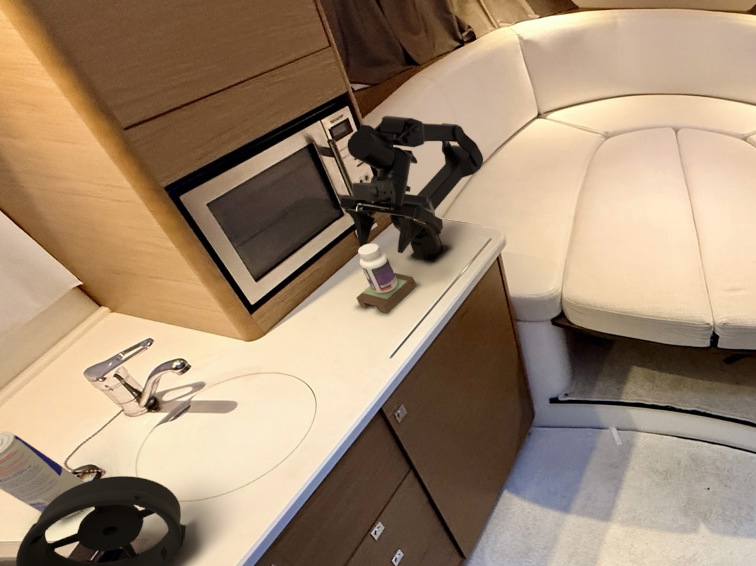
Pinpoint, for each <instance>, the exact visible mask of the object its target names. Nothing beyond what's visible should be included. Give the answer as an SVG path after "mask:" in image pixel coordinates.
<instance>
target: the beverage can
mask: <svg viewBox="0 0 756 566" xmlns="http://www.w3.org/2000/svg"><path fill="white" fill-rule="evenodd" d="M85 482H86V481H84V480H83V479H81V478H79V477H78V476H77V475H75V474H74V473H73V472H71V471H70V470H68V469H66V468H65V467H63V466H62V465H60V464H59V463H57V462H56V461H54V459H52V458H50V457H49V456H47V455H46V454H44V453H43V452H41V451H40V450H38V449H37V448H36V447H34V446H33V445H31V444H30V443H28V442H26V441H25V440H23V439H22V438H21V437H19V436H18V435H16V434H14V433H12V432H11V431H0V490H2V491H3V492H5V493H6V494H9V495H10V496H12V497H13V498H15V499H17V500H18V501H20V502H22V503H24V504H26V505H27V506H29V507H31V508H33V509H34V510H36V511H38V512H39V513H41V514H42V512H43V511H44V509H45V508H46V507H47V506H48V505H49V504H50V503H51V502H52V501H53V500H54V499H55V498H56V497H58V496H59V495H61V494H62V493H64V492H65V491H67V490H69V489H71V488H73V487H75V486H77V485H80V484H82V483H85ZM81 511H82V510H80V511H77V512H74V513H72V514H70V515H68V516H66V517H64V518H63V519H67V518H69V517H71V516H73V515H76V514H77V513H79V512H81Z"/></svg>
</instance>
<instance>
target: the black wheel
mask: <svg viewBox="0 0 756 566" xmlns="http://www.w3.org/2000/svg"><path fill="white" fill-rule="evenodd" d="M84 482H85V483H82V484H80V485H77V486H75V487H73V488H71V489H69V490H67V491H65V492H64V493H62V494H61V495H59V496H58V497H56V498H55V499H54V500H53V501H52V502H51V503H50V504H49V505H48V506H47V507H46V508H45V509H44V511H43V512H42V513H41V514H40V516H39V517H38V519H37V521H36V522H35V523H33V524H32V525H31V527H30V528H29V529H28V531H27V532H26V534H25V536H24V537H23V539H22V540H21V543H20V545H19V547H18V550H17V554H16V556H15V557H16V559H15V565H16V566H170V565H171V564H172V563H173V561H174V560H175V559H176V557H177V556H178V554H179V552H180V550H181V548H182V546H183V544H184V541H185V538H186V533H187V531H186V530H187V525H186V524H182V523H181V518H182V508H181V504H180V501H179V499H178V497H177V496H176V495H175V494H174V492H172V490H170V489H169V488H168V487H166V485H165V486H164V485H163V484H161V483H160V482H157V481H156V480H155V481H154V480H151V479H148V478H145V477H138V476H129V475H128V476H127V475H118V476H107V477H101V478H96V479H92V480H89V481H84ZM138 507H139V508H141V509H139V508H138ZM91 508H94V509H92V510H91V511H89V512H88V513H87V514H86V515H85V516H84V517H83V518H82V519H81V521H80V523H79V525H78V528H77V532H76V533H73V534H71V535H68V536H66V537H63V538H59V539H58V540H55V541H53V542H48V540H47V537H46V536H47V535H46V532H47V531H48V530H49V529H50V528H52V526H54V524H56V523H57V522H59V521H61V520H62V519H65V518H64V517H66V516H68V515H70V514H72V513H74V512H77V511H79V512H81V511H83V510H86V509H91ZM142 508H143V509H142ZM80 510H81V511H80ZM77 513H78V512H77ZM154 514H156V515H157V516H158V517H160V518H161V519H162V520H163V521H164V523H165V525H166V526H167V532H166V533H165V534H164V536H163V537H162V538H161V539H160V540H159V541H158V542H157V543H155V544H154V545H153V546H151V547H150V548H148V549H146V550H144V551H142V552H138V553H137V552H136V550H135V548H134V546H133V545H132V543H133V542H134V541H135V540H136V539H137V538H138V537H139V536H140V534H141V532H142V529H143V526H144V523H145V521H144V518H147V517H149V516H152V515H154ZM66 518H67V517H66ZM77 542H78V543H79V544H80V545H81V546H83V548H86V549H88V550H90V551H95V552H109V551H115V550H120V549H122V550H123V551H124V553H125V554H126V555H127V556H128V557H126V558H123V559H119V560H114V561H105V562H88V561H80V560H75V559H71V558H69V557H66V556H64V555H62V554H61V553H58V552H57V551H55V550H56V549H59V548H63V547H65V546H69V545H71V544H72V545H73V544H74V543H77Z"/></svg>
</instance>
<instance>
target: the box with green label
mask: <svg viewBox="0 0 756 566" xmlns="http://www.w3.org/2000/svg"><path fill="white" fill-rule="evenodd" d="M394 274H395V276H396V279H397V281H398V284H397V286H396V288H395V289H393V290H392V291H389V292H386V293H376V292H374V291H373V290H372V288H371V286H370V285H369V286H368V287H367V288H366V289H364V290H363V291H362V292H361V293H360V294H359V295H358V296H357V297H355V298H356V301H357V303H358V304H359V306H360V308H361V307H362V308H364V309H367V308H368V307H369V306H374V307H378V308H379V311H380V313H384V314H388V313H389V312H390V311H392V310H393V308H395V307H396V306H397V305H398V304H399V303H400V302H401V301H402V300H403V299H404V298H405V297H406V296H407V295H409V293H410V292H412V291H413V290H414V289H415V288H416V287H417V284H416V282H415V279H414V277H413V276H409V275H405V274H402V273H396V272H394Z"/></svg>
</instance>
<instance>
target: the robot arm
mask: <svg viewBox="0 0 756 566" xmlns="http://www.w3.org/2000/svg"><path fill="white" fill-rule="evenodd" d="M426 142H441V153H442V154H443V156H444V164H443V166H442V167H441V168H440V169H439V170H438V171H437V173H436V174H434V176H433V177H432V178H431V179H430V180H429V181H428V183H427V184H425V186H424V187H423V188H422V189H421V190H420V191H419V192H418V193H417V194H410V192H411V186H409V185H408V181H409V175H410V169H411V164H415V165H416V164H418V159H417V158H416V156H415V155H414V153H413V151H412V150H411V149H403V148H401V147H407V148H416V147H419V146H423V145H424V144H425V143H426ZM451 142H452V143H457V144H458V145H455V144H452V143H451ZM347 151H348V153H349V155H350V156H351V157H353V158H354V159H356V160H358V161H360V162H362V163H364V164H366V165H367V166H369V167H371V168H374V169H377V170H378V171H377V175H372V177H371V178H370V179H371V180H370V182H352V183H351V187H352V195H350V194H344V195H343V196H342V197H341V198H340V201H339V202H340V203H339V208H341V209H344V210H343V211H344V212H345V214H348V215H349V216H350V217H351V219H352V220H353V223H354V227H355V230H356V235H357V240H358V246H359V248H360V247H362V246H363V245H366V244H368V241H369V239H370V238H369V237H370V234H371V231H372V228H373V226H374V223H375V219H376V218H375V217H373V215H374V214H375V213H378V214H384V215H385V214H386V215H390V222H391V223H392V225H393V227H394V228H395V229H396V230H397V231H398V232H399V235H398V241H397V253H398V254H403V253H404V252H405V250H406V249H407V248H408V246H410V247H411V250H412V253H411V254H410V257H411V258H413V259H416V260H420V261H426V262H431V263H433V262H436V260H437V259H439V258H440V257H441V256H442V255H443V254H444V253H445V252H447V250H448V249H449V246H448V245H444V244H443V242H442V239H441V236H440V235H441V234H442V230H443V229H444V222H443V218H440V217H438V216H436V210H437V208H438V207H439V206H440V205H441V204H442V202H444V200H445V199H446V198H447V197H448V195H449V194H451V192H452V191H453V190H454V188H455V187H456V186H457V185H458V184H459V182H460V181H461V180H462V179H464V178H466V177H469V176H472V175H475V174H476V173H477V172H478V171H480V170H481V168H482V166H483V164H484V156H483V153H482V151H481V149H480V148H479V145H478V144H477V143H476V142H475V141H474V140H473V139H472V138H471V137H469V136H468V135H467V134H466V133H465V130H464V129H463V127H462V126H461V125H459V124H456V123H447V122H442V123H424V122H423V121H421V120H418V119H415V118H413V117H405V116H395V115H394V116H393V115H384V116H383V117H382V118H381V121H380V123H379V124H377V125H376V126H375V128H374V127H373V126H371V125H370V124H360V125H359V129H358V130H356V131H354V132H353V133H352V134H351V136H350V137H349V139H348V140H347ZM406 192H407V193H406Z"/></svg>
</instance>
